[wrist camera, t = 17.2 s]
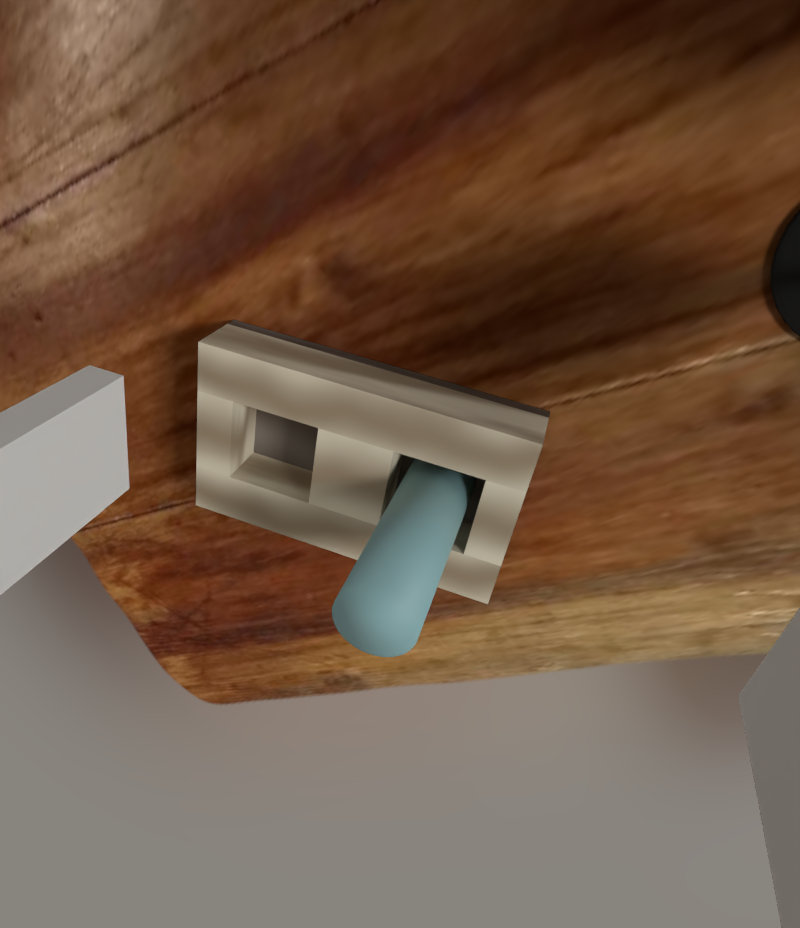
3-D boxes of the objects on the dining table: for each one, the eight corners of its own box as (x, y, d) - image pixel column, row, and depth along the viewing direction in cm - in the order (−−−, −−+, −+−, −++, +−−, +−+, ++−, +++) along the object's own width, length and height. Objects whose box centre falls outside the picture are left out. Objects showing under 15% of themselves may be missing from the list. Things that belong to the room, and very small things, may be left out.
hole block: (234, 319, 49) (198, 341, 45) (550, 411, 46) (542, 444, 42) (227, 474, 57) (195, 505, 53) (498, 563, 53) (487, 604, 49)
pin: (416, 438, 49) (337, 574, 35) (482, 458, 48) (426, 605, 35) (405, 493, 51) (327, 638, 38) (467, 513, 51) (409, 668, 37)
